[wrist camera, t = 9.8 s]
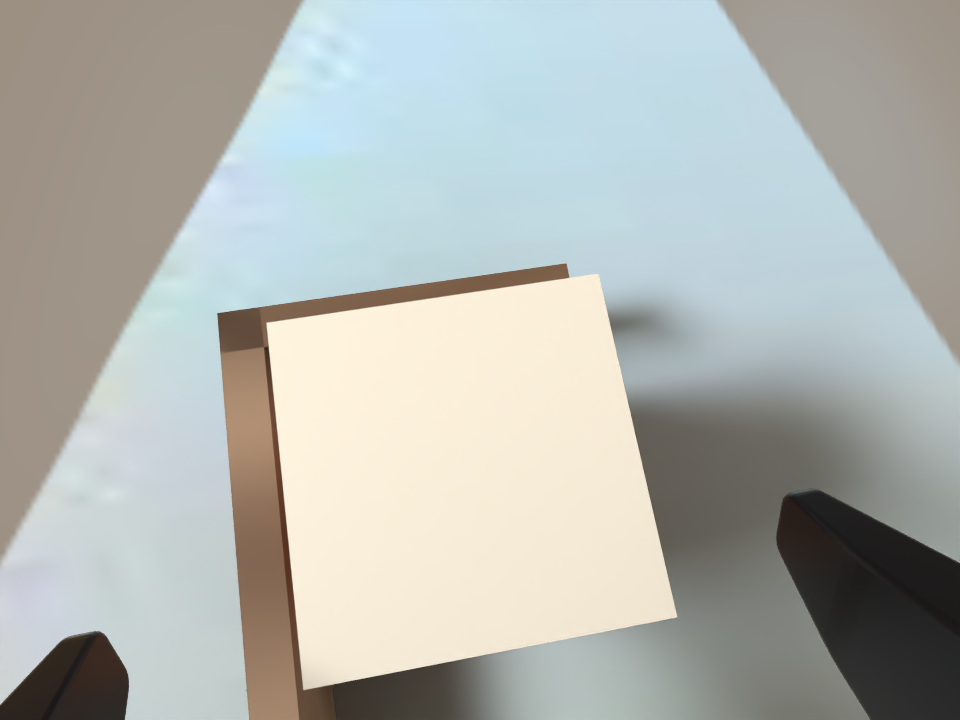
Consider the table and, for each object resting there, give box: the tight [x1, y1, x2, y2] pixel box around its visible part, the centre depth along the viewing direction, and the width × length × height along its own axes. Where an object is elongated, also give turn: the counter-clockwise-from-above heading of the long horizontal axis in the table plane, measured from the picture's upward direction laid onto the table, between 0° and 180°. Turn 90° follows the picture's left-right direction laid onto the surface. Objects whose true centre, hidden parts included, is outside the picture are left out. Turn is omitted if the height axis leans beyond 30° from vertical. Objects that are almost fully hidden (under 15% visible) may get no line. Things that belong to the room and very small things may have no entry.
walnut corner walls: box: [217, 264, 569, 720], centre depth 17 cm, size 12×8×4 cm
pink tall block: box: [267, 274, 677, 690], centre depth 14 cm, size 5×5×10 cm
